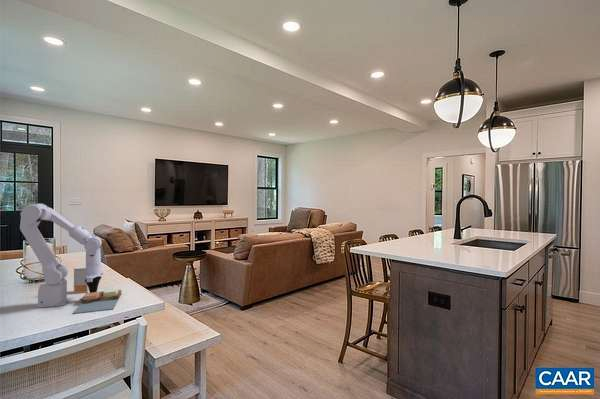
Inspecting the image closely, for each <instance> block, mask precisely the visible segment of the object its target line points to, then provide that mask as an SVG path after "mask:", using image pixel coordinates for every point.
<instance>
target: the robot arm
mask: <svg viewBox="0 0 600 399" xmlns="http://www.w3.org/2000/svg"><path fill="white" fill-rule="evenodd" d="M42 221H49V222H50V221H51V222H53V223H54V224H56V225H57V226H59V227H60V228H63V229H64V230H66V231H67V232H68V236H69V237H70V238H71V239H73V240H75V242H78V244H80V245H83V246H84V250H85V266H86V274H85V277H86V278H87V279H85V282H86V283H87V285H88V288H89V293H91V292H98V289H99V288H98V287H99V284H100V282H101V279H102V276H103V275H104V274H105V273H104V271H102V264H101V262H102V253H101V251H102V250H101V245H102V243H103V242H102V239H101V238H100V237H99V236H97V235H95V233H91V232H90V231H89V230H86V227H85V226H81V225H75V224H73V223H71V221H69V220H68V219H66V218H65V217H64V216H63V215H62V214H60V213H58V212H57V211H56V210H54V209H53V208H52V207H49V206H47V205H46V204H45V203H42V202H41V203H40V202H39V203H31V204H27V205H25V206H24V207H23V209H22V210H21V212H20V224H19V229H20V232H21V233H22V235H23V236H24V238H25V240H26V241H27V243H28V245H29V246H30V248H31V250H32V251H33V253H34V254H35V256H36V257H37V260H38V261H39V263H40V265H41V268H42V270H41V271H42V273H43V280H44V281H45V283H42V284H40V285H39V287H38V290H37V306H36V308H38V309H39V308H47V307H48V308H49V307H57V306H65V305H66V304H67V303H68V302H69V301H70V300H71V298H70V297H69V298H68V294H67V293H68V287H67V286H68V282H67V281H68V280H67V279H66V277H67V275H68V273H69V270H68V268H67V267H66V266H64V265H62V263H61V261H59V260H58V259H56V256H55V255H54V253H53V252H52V250H51V248H50V247H49V245H48V243H47V241H46V240H45V238H44V236H43V235H42V233H41V231H40V230H39V228H38V226H39V225H40V224H41V222H42Z"/></svg>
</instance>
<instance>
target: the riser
mask: <svg viewBox="0 0 600 399" xmlns="http://www.w3.org/2000/svg"><path fill="white" fill-rule="evenodd" d="M104 291H105V290H104ZM104 291H98V292H99V296H98V297H97V299H88V300H83V297H82V298H80V300H81V302H80V304H81V303H87V302H97V301H107V300H117V299H118V301H119V299H120V298H121V296H122V289H118V293H117V295H110V296H103V293H104Z"/></svg>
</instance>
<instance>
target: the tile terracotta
mask: <svg viewBox="0 0 600 399" xmlns="http://www.w3.org/2000/svg"><path fill="white" fill-rule="evenodd" d="M99 292H100V291H97V292H91V293H90V292H85V294H84V295H83V296H82V298H83V300H88V299H97V297H98V296H99Z"/></svg>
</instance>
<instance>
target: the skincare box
mask: <svg viewBox="0 0 600 399" xmlns="http://www.w3.org/2000/svg"><path fill="white" fill-rule="evenodd" d="M85 274H86V265H85V266H83V265H82V266H76V267H74V268H73V294H81V293H82V294H83V293H90V291H89V288H88V285H87V283H86V282H85V279H87V278H86V277H85Z"/></svg>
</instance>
